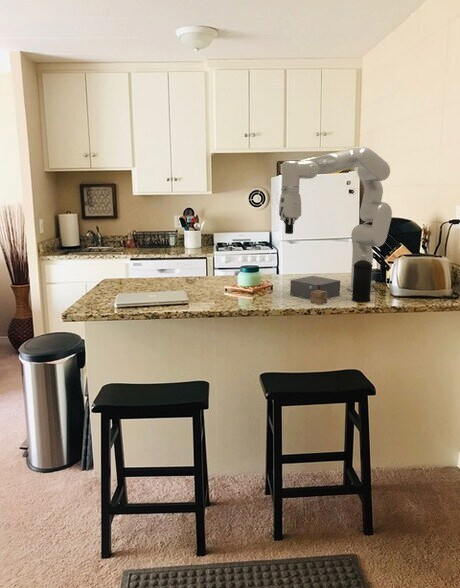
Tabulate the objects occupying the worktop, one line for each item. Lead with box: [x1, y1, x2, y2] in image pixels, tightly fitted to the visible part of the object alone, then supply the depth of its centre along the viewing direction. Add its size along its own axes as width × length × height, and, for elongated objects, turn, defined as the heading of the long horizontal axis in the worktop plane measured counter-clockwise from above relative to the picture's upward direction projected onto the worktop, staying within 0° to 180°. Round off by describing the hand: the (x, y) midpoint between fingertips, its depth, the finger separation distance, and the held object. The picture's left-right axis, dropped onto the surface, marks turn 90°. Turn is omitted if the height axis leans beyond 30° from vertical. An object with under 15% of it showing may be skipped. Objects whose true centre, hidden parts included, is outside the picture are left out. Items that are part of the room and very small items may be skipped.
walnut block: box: [309, 290, 328, 305], centre depth 223 cm, size 5×5×5 cm
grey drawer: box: [289, 279, 318, 300], centre depth 236 cm, size 16×15×7 cm
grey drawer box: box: [292, 275, 341, 299], centre depth 238 cm, size 15×16×7 cm
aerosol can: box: [351, 255, 374, 303], centre depth 226 cm, size 8×8×20 cm
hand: (289, 233), depth 225 cm, fingers closed
